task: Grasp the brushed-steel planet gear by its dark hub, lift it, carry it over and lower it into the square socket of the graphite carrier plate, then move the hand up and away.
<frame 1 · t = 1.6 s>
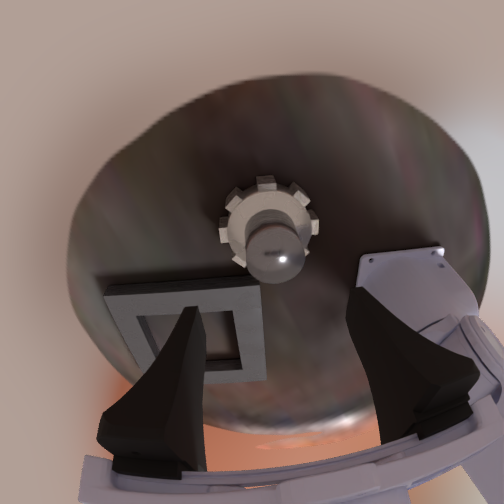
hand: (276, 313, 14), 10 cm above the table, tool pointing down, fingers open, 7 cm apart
carrier plate: (193, 335, 29), on the table
planet gear: (267, 220, 23), on the table
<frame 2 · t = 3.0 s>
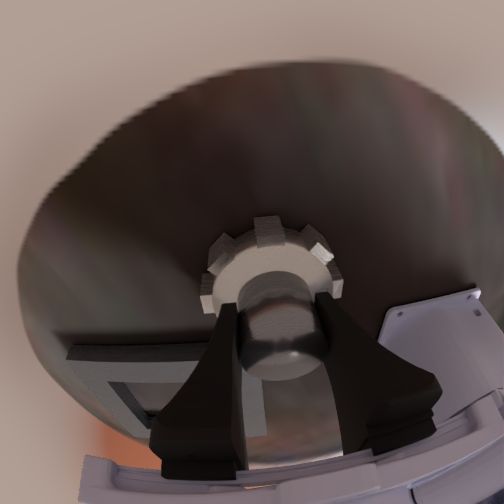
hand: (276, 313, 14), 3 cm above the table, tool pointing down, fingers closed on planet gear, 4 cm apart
carrier plate: (179, 395, 22), on the table
planet gear: (269, 275, 16), on the table, touching gripper
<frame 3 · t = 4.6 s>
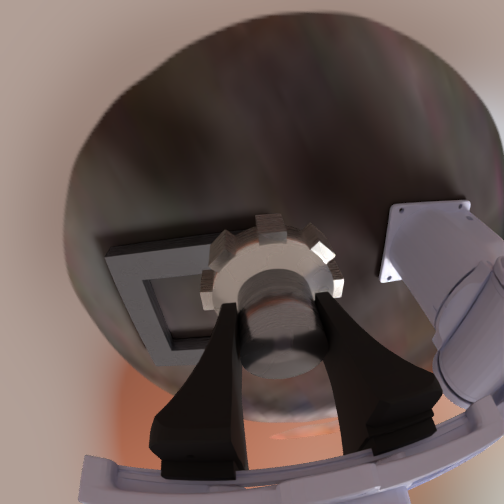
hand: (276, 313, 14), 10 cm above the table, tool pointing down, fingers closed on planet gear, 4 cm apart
carrier plate: (207, 303, 26), on the table
planet gear: (269, 273, 16), point 7 cm above the table, touching gripper
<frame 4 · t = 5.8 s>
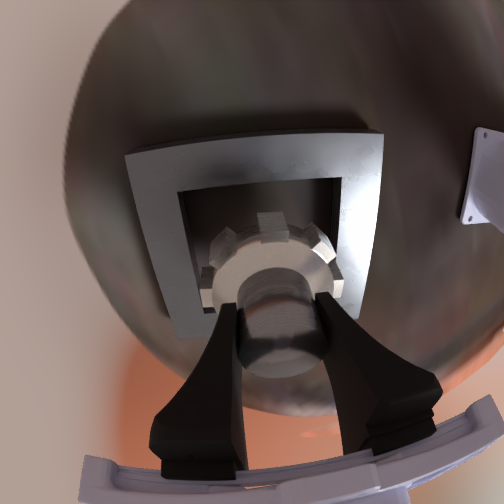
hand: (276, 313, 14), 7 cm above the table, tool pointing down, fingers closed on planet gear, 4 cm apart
carrier plate: (262, 240, 19), on the table
planet gear: (269, 272, 16), point 4 cm above the table, touching gripper
when the fingers open (4 cm above the table, at t = 6.6 s): planet gear drops 1 cm, resting in carrier plate.
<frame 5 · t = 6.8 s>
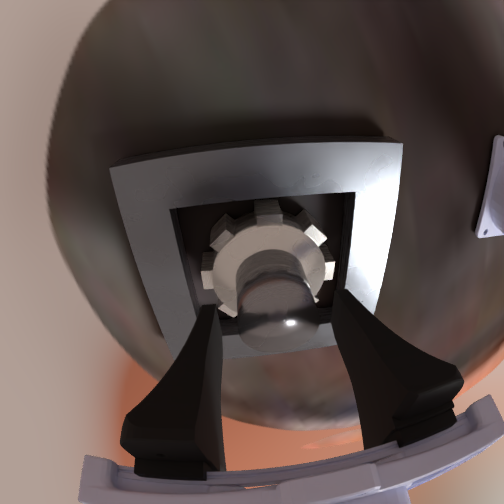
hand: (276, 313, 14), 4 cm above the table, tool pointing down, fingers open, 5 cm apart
carrier plate: (266, 260, 17), on the table
planet gear: (265, 257, 17), resting in carrier plate
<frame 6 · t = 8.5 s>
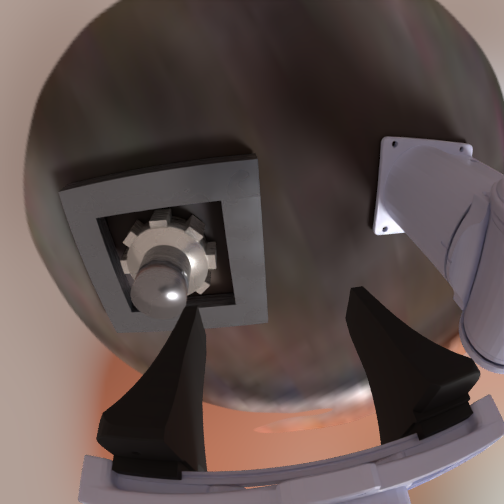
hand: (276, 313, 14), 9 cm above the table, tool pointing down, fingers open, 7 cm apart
carrier plate: (171, 253, 22), on the table
planet gear: (170, 251, 22), resting in carrier plate
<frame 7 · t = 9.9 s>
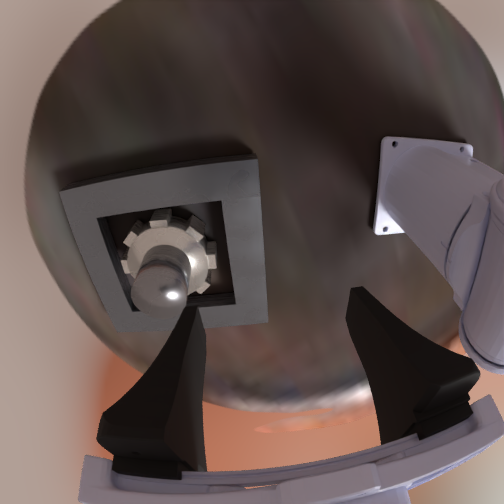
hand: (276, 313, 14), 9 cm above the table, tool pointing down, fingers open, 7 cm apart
carrier plate: (171, 253, 22), on the table
planet gear: (171, 251, 22), resting in carrier plate
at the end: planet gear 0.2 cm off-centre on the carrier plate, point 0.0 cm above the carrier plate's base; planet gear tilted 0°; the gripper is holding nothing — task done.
